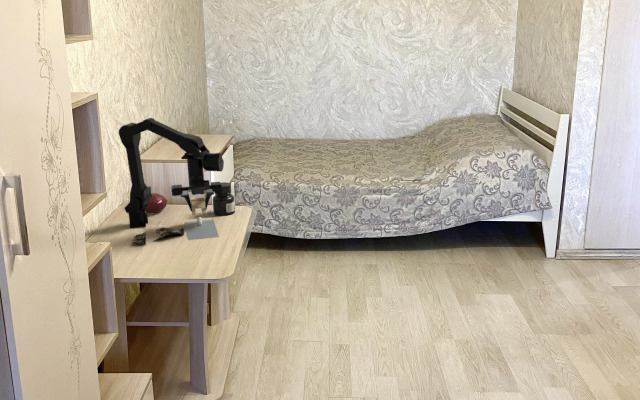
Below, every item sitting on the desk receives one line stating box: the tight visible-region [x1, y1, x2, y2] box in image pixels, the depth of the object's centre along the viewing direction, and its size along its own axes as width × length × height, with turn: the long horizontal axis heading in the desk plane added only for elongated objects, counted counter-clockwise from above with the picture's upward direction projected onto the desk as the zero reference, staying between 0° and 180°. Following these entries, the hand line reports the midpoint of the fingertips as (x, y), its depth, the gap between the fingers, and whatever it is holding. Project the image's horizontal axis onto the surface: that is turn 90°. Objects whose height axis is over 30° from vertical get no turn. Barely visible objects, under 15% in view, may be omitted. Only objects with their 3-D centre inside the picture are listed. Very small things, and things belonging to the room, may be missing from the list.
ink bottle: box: [212, 181, 236, 216], centre depth 267 cm, size 10×9×12 cm
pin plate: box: [184, 216, 220, 241], centre depth 245 cm, size 11×21×4 cm, turn 14°
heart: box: [145, 192, 168, 215], centre depth 271 cm, size 12×8×10 cm
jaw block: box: [190, 196, 207, 216], centre depth 249 cm, size 5×6×5 cm
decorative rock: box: [132, 226, 185, 246], centre depth 240 cm, size 19×6×15 cm
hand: (198, 210), depth 249 cm, fingers closed on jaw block, 5 cm apart
